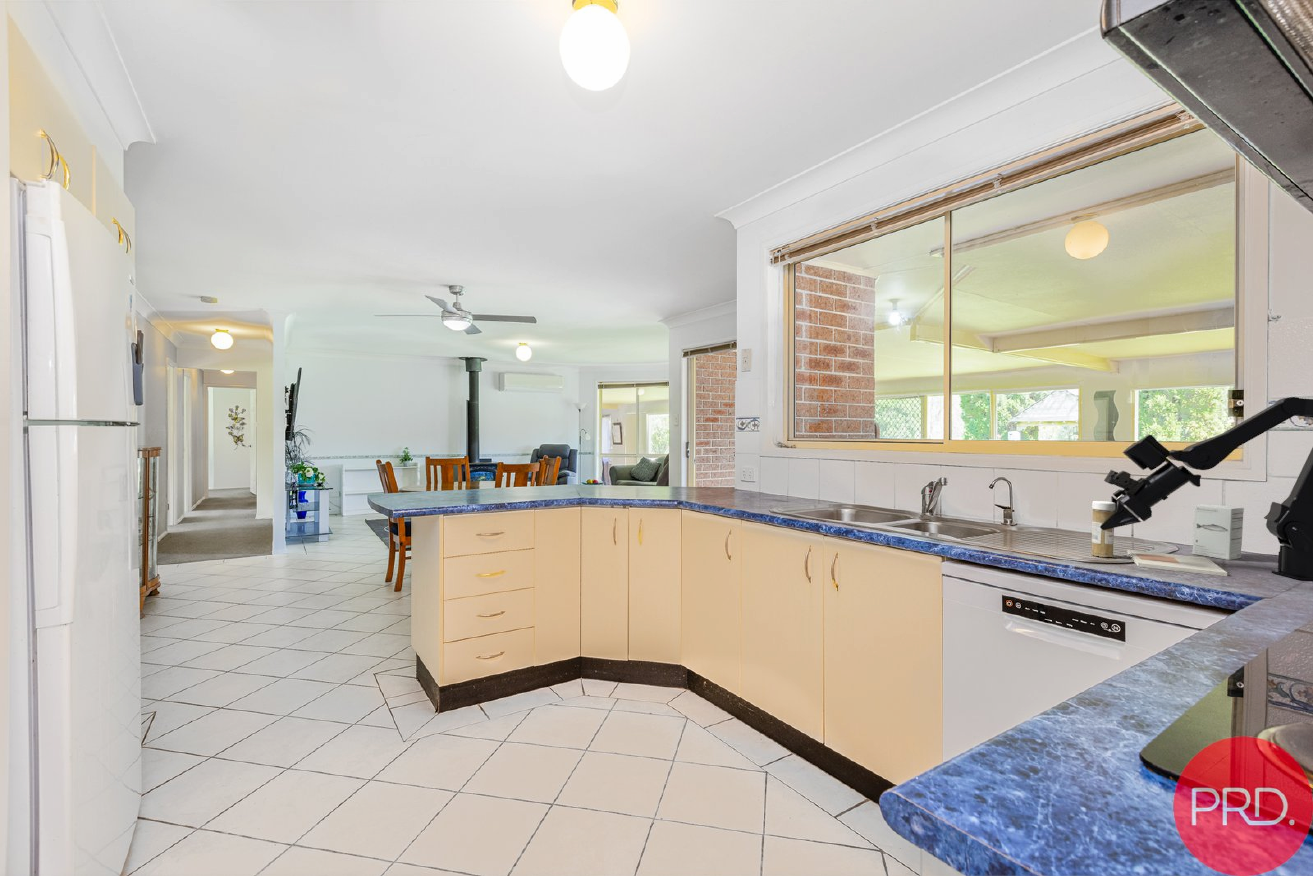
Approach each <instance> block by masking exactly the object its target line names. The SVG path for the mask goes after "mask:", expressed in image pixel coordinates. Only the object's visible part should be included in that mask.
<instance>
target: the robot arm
mask: <svg viewBox="0 0 1313 876" xmlns="http://www.w3.org/2000/svg"><path fill="white" fill-rule="evenodd" d="M1296 416H1297V417H1301V418H1302V417H1303V418H1312V419H1313V398H1300V397H1298V396H1297V397H1296V396H1289V397H1283V398H1280V399H1278V400H1277V401H1276V402H1275V403H1274V404H1272V405H1270V406H1268V407H1267V408H1265V409H1263V410H1261V411H1259V412H1258V413H1255V414H1254V415H1252V416H1251V417H1249V418H1247V419H1245V420H1244V421H1241V422H1239V423H1238V424H1236V425H1235V426H1233V427H1231V428H1230V429H1228V430H1226V431H1224V432H1222V433H1220V434H1218V435H1215V436H1212V437H1209V438H1206V439H1204V440H1200V441H1198V442H1196V443H1193V444H1190V445H1188V446H1186V447H1185V448H1183V449H1181V450H1180V449H1179V450H1178V449H1171V450H1169V449H1167V448H1166V447H1165V445H1162V444H1161V443H1160V442H1159V441H1158V440H1157V439H1156V438H1155V436H1154V435H1152V434H1147V435H1146V436H1144V437H1143V438H1141V439H1139V440H1138V441H1136V442H1134V443H1132V444H1131V445H1130V446H1128V447H1127V448H1126V449H1124V450H1123V452H1122V454H1123V455H1125V456H1126V457H1127V458H1128V459H1129V460H1131V461H1132V462H1133V463H1134V464H1135V465H1137V466H1138V467H1139V468H1140V469H1141V470H1142V471H1144V470H1146V469H1148V470H1150V471H1153V470H1155V471H1153V472H1152V473H1150V474H1149V475H1148V476H1146V477H1140V478H1138V479H1137V480H1136V479H1134V478H1132V477H1131V473H1129V472H1128V471H1125V470H1121V471H1119V472H1117V471H1115V470H1113V469H1110V471H1109V472H1108V474H1107V475H1106V477H1105V478H1104V480H1103V481H1104V482H1105V483H1107V484H1109V485H1113V486H1116V487H1119V488H1121V489H1117V490H1116V491H1115V492H1113V493H1112V495H1111V496H1110V498H1111V499H1110V502H1113V503H1115V512H1114V513H1113V514H1112V515H1111V516H1110V517H1109V518H1108V519H1107V520H1106V521H1105V522H1104V523H1103V524H1102V525H1101V526H1100V528H1101V529H1102V530H1107V529H1112V528H1114V529H1115V528H1119V527H1124V526H1128V525H1133V524H1137V523H1141V522H1146V521H1147V520H1148V519H1150V518H1152V516H1153V515H1152V514H1153V511H1152V507H1153V506H1155V505H1157V504H1159V502H1161V501H1162V500H1163V501H1165V500H1167V499H1169V496H1170V495H1171V494H1173V493H1174V492H1175V491H1177V490H1179V489H1180V488H1182V487H1184V486H1185V485H1186V484H1187V483H1190V484H1192V486H1193V487H1197V488H1200V487H1201V479H1202V475H1201V474H1194V473H1193V472H1191V470H1189V469H1188V468H1191V469H1192V470H1193V469H1194V470H1197V471H1198V470H1199V471H1207V470H1208V471H1209V470H1211V469H1214V468H1215V467H1216V466H1217V465H1219V464H1220V463H1221V462H1223V461H1224V460H1225V459H1226V458H1228V457H1229V456H1230V455H1231V453H1233V452H1234V451H1235V450H1236V449H1237V448H1239V447H1241V446H1242V445H1244V444H1246V443H1248V442H1249V441H1251V440H1253V439H1254V438H1256V437H1259V436H1261V435H1262V434H1264V433H1266V432H1267V431H1269V430H1271V429H1273V428H1275V427H1277V426H1279V425H1280V424H1282V423H1284V422H1285V421H1288V420H1289V419H1291V418H1293V417H1296ZM1171 460H1172V461H1177V462H1180V463H1181V462H1182V463H1183V464H1184V465H1185V466H1186V467H1185V466H1184V465H1180V466H1177V465H1176V464H1174V463H1173V462H1172V461H1171ZM1162 464H1164V465H1162ZM1158 467H1159V468H1158ZM1157 468H1158V469H1157ZM1263 519H1265V520H1266V523H1265V525H1266V529H1267V530H1268V532H1269V533H1270V534H1272V535H1273V536H1274V537H1276V539H1277V541H1278V543H1279V544H1280V545H1279V551H1278V557H1277V558H1278V560H1277V570H1275V569H1272V570H1270V571H1271V573H1272V574H1275V575H1276V574H1277V575H1280V576H1283V577H1288V578H1292V579H1295V580H1302V581H1313V447H1312V448H1311V450H1310V452H1309V454H1308V456H1307V458H1306V461H1305V462H1304V464H1303V467H1302V469H1301V470H1300V473H1299V474H1298V477H1297V478H1296V481H1295V483H1294V485H1293V486H1292V489H1291V491H1290V493H1289V495H1288V497H1287V498H1286V499H1284V500H1283V501H1282V502H1281V503H1279V502H1275V501H1272V502H1271V504H1270V508H1269V511H1268V513H1267V514H1266V515H1265V516H1264V517H1263Z"/></svg>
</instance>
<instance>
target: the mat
mask: <svg viewBox="0 0 1313 876" xmlns="http://www.w3.org/2000/svg"><path fill="white" fill-rule="evenodd" d="M1127 554H1128V555H1129V554H1130V555H1131V556H1132V558H1133V559H1132V558H1131V559H1132V561H1133V560H1134V561H1133V562H1134V563H1135V564H1136V565H1137V567H1140V568H1148V569H1157V570H1167V571H1174V572H1175V571H1176V572H1185V573H1195V574H1204V575H1213V576H1220V577H1228V572H1227V571H1226V570H1225V569H1223V568H1222V567H1221V566H1219V565H1217V564H1216V563H1215V562H1213V561H1212V560H1211V559H1209V557H1206V556H1193V555H1184V554H1183V555H1181V554H1172V553H1161V552H1155V551H1154V552H1152V551H1143V550H1134V549H1127ZM1130 555H1129V556H1130Z"/></svg>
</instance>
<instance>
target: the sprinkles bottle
mask: <svg viewBox="0 0 1313 876" xmlns="http://www.w3.org/2000/svg"><path fill="white" fill-rule="evenodd" d="M1091 505H1092V506H1091V509H1092V523H1091V553H1090V554H1091V556H1093V555H1094V556H1093V557H1096V556H1099V557H1098V558H1102V557H1112V558H1114V544H1115V543H1114V542H1115V537H1114V536H1115V528H1112V529H1107V530H1102V529H1101V528H1100V526H1101V525H1102V524H1103V523H1104V522H1105V521H1106V520H1107V519H1108V518H1109V517H1110V516H1111V515H1112V514H1113V513H1114V512H1115V503H1113V502H1111V501H1107V500H1106V501H1104V500H1093V501H1092V504H1091Z"/></svg>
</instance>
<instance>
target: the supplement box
mask: <svg viewBox="0 0 1313 876" xmlns="http://www.w3.org/2000/svg"><path fill="white" fill-rule="evenodd" d="M1244 512H1245V508H1244V507H1238V506H1231V505H1230V506H1229V505H1221V504H1220V505H1219V504H1211V503H1210V504H1209V503H1201V504H1195V505H1194V520H1193V521H1194V522H1193V539H1192V555H1197V556H1202V557H1208V558H1209V557H1211V558H1214V559H1215V558H1217V559H1222V560H1226V561H1231V560H1236V559H1240V558H1241V557H1242V547H1243V546H1242V544H1243V543H1242V542H1243V527H1244V526H1243V525H1244V524H1243V523H1244Z"/></svg>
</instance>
